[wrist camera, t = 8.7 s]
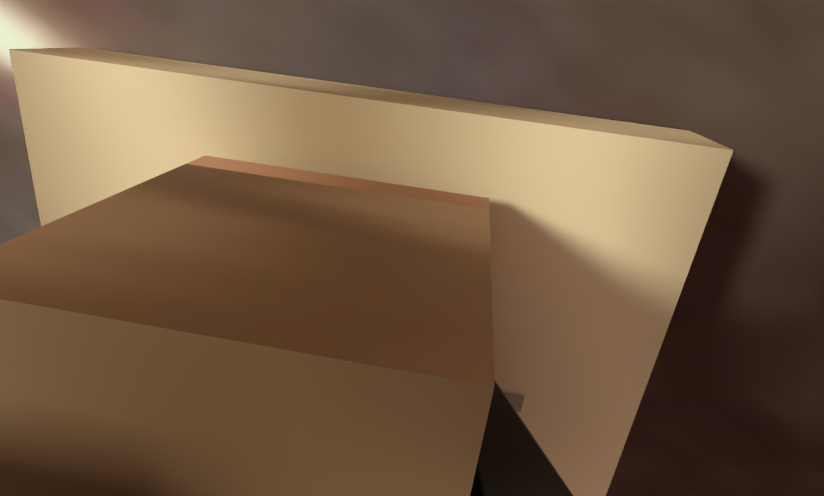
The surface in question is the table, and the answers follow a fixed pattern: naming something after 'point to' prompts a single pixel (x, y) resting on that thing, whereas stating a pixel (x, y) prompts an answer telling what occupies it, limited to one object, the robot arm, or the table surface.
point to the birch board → (437, 170)
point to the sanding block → (248, 339)
